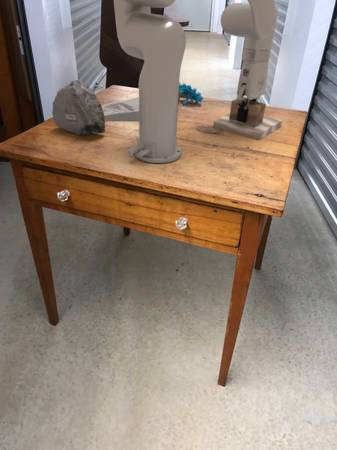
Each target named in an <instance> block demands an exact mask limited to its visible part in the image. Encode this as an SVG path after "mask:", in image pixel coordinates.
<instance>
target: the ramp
mask: <svg viewBox="0 0 337 450" xmlns="http://www.w3.org/2000/svg"><path fill="white" fill-rule="evenodd" d="M101 106H102V109H103V111H104V120H105V122H138V123H139V96H138V97H133V98H129V99H125V100H121V101H115V102H114V101H113V102H108V103H106V104H101Z"/></svg>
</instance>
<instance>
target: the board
mask: <svg viewBox="0 0 337 450" xmlns="http://www.w3.org/2000/svg"><path fill="white" fill-rule="evenodd" d="M229 117H230V113H228V114H225V115H224V116H221V117H219V118H216V119H215V120H213V123H212V125H213V126H212V128H215V129H219V130H223V131H225V132H226V131H227V132H229V133H232V134H233V133H234V134H237V135H240V136H243V137H248V138H252V139H255V140H257V141H260V140H262V139H263V138H265V137H267V136H268V135H270V134H272V133H273V132H275V131H276V130H277V129H279V128H281V127H282V123H283V120H282V119H279V118H275V117H270V116H267V115H264V117H263V122H262V124H260V125H259V126H257V127H251V126H248V125H244V124H240V123H236V122H233V121H229Z"/></svg>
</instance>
